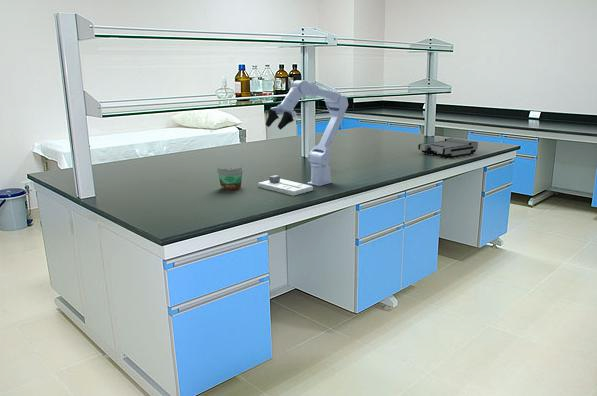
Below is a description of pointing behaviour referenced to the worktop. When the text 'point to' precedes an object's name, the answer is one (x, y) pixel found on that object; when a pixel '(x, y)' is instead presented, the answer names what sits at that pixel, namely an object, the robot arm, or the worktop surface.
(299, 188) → the fader console
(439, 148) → the game console
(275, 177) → the fader tab
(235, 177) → the food container
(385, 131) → the worktop surface
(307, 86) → the robot arm
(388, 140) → the worktop surface
